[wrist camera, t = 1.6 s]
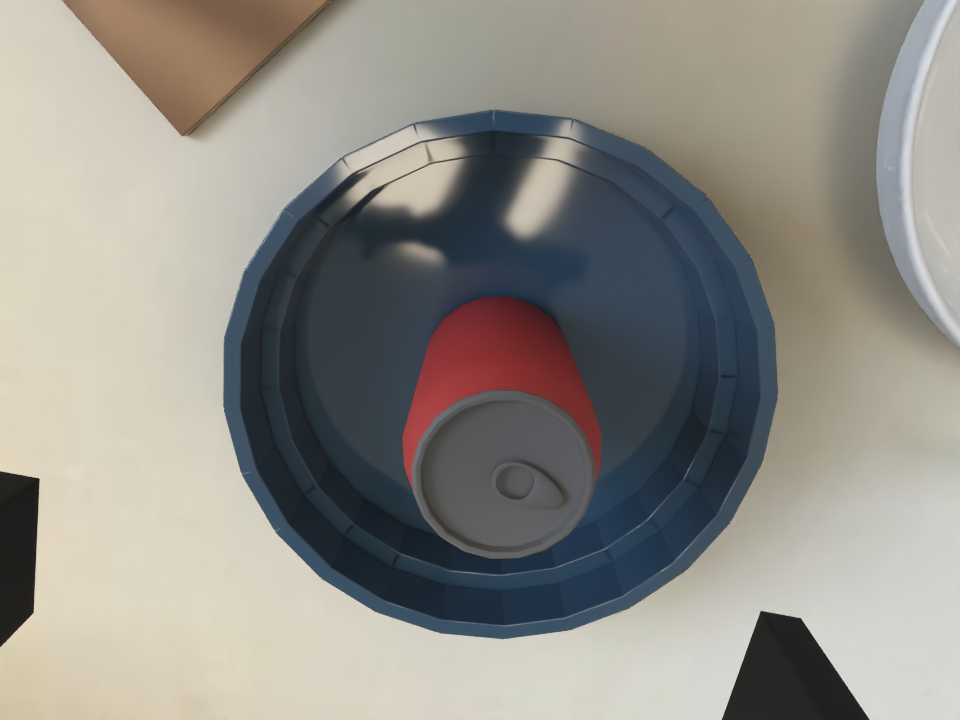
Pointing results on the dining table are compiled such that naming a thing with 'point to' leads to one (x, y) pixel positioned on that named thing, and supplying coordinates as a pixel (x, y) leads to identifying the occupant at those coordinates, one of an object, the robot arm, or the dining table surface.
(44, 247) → the dining table surface
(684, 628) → the dining table surface
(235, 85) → the wooden cutting board
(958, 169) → the serving bowl
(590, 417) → the beer can
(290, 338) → the blue bowl
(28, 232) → the dining table surface
